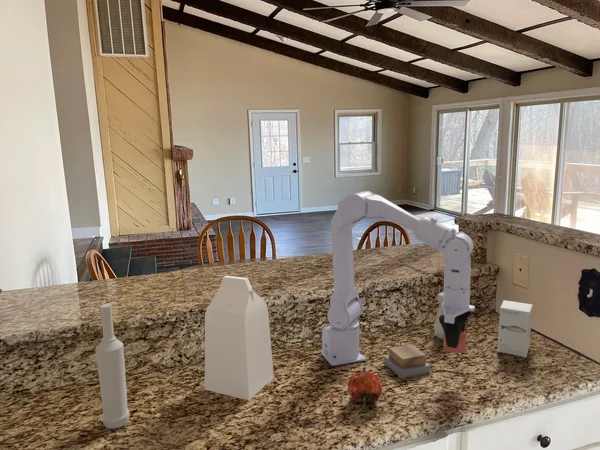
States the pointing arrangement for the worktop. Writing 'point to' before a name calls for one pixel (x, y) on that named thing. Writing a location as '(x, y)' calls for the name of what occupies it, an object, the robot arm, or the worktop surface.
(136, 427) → the worktop surface
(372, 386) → the red apple
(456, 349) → the red rounded block
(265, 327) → the milk
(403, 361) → the tower top block
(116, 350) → the bottle
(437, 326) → the salt shaker
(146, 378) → the worktop surface
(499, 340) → the supplement box
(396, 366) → the tower base block
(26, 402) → the worktop surface
